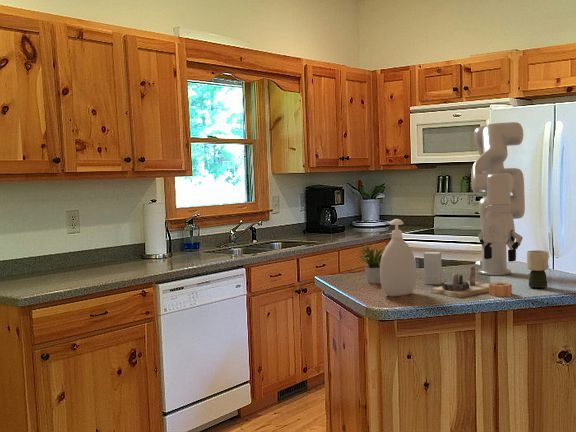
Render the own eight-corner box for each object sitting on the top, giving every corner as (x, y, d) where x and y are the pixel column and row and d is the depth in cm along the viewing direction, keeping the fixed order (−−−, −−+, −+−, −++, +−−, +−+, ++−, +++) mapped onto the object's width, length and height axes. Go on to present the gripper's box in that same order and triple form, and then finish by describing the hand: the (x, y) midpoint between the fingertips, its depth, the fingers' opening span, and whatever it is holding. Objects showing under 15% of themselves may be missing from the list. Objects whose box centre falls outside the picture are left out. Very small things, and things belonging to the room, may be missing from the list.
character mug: (556, 290, 205) (555, 252, 204) (537, 291, 204) (536, 254, 203) (538, 284, 216) (538, 249, 215) (520, 285, 215) (520, 250, 214)
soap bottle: (408, 290, 216) (405, 216, 214) (421, 294, 208) (419, 217, 206) (373, 295, 210) (371, 219, 208) (386, 299, 203) (383, 221, 201)
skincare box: (442, 282, 226) (441, 251, 225) (440, 285, 222) (439, 253, 221) (426, 282, 229) (425, 251, 228) (424, 284, 225) (423, 253, 224)
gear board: (431, 292, 210) (430, 268, 210) (469, 284, 221) (468, 262, 220) (459, 298, 199) (459, 273, 199) (498, 289, 210) (497, 265, 209)
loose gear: (484, 294, 203) (484, 284, 203) (498, 291, 207) (498, 281, 207) (502, 297, 197) (502, 287, 197) (516, 294, 201) (515, 284, 201)
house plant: (347, 284, 231) (346, 243, 229) (359, 278, 243) (357, 239, 242) (383, 286, 224) (381, 243, 223) (393, 279, 237) (391, 239, 236)
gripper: (471, 210, 205) (472, 258, 206) (513, 210, 191) (514, 263, 191) (485, 208, 209) (486, 256, 210) (528, 209, 195) (529, 261, 195)
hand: (499, 260), depth 201 cm, fingers open, 9 cm apart
